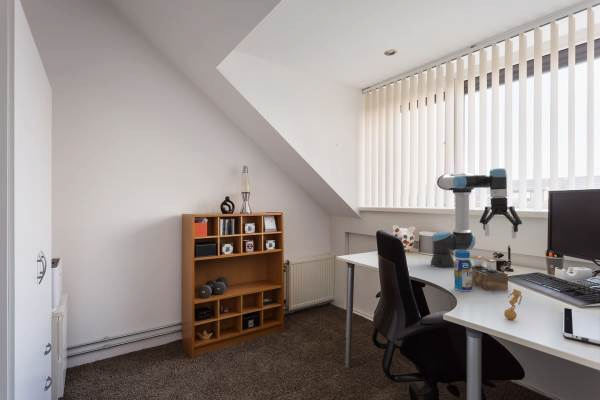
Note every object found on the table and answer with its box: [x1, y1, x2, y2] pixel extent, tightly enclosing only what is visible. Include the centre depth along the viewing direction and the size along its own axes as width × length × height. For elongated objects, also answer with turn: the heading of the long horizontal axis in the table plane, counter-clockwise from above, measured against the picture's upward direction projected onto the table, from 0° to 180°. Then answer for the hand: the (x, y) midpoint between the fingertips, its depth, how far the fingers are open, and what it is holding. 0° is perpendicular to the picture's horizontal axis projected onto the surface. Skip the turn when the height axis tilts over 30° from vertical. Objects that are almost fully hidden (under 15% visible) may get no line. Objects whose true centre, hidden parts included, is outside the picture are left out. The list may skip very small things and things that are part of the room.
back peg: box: [473, 255, 484, 269], centre depth 169 cm, size 4×4×8 cm
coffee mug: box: [487, 257, 506, 273], centre depth 183 cm, size 12×9×10 cm
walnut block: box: [471, 265, 509, 292], centre depth 164 cm, size 18×11×9 cm, turn 5°
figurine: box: [503, 288, 523, 321], centre depth 119 cm, size 8×6×12 cm
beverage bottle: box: [453, 250, 473, 292], centre depth 158 cm, size 8×8×20 cm
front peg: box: [486, 258, 496, 273], centre depth 159 cm, size 4×4×8 cm
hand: (500, 237), depth 162 cm, fingers open, 13 cm apart
